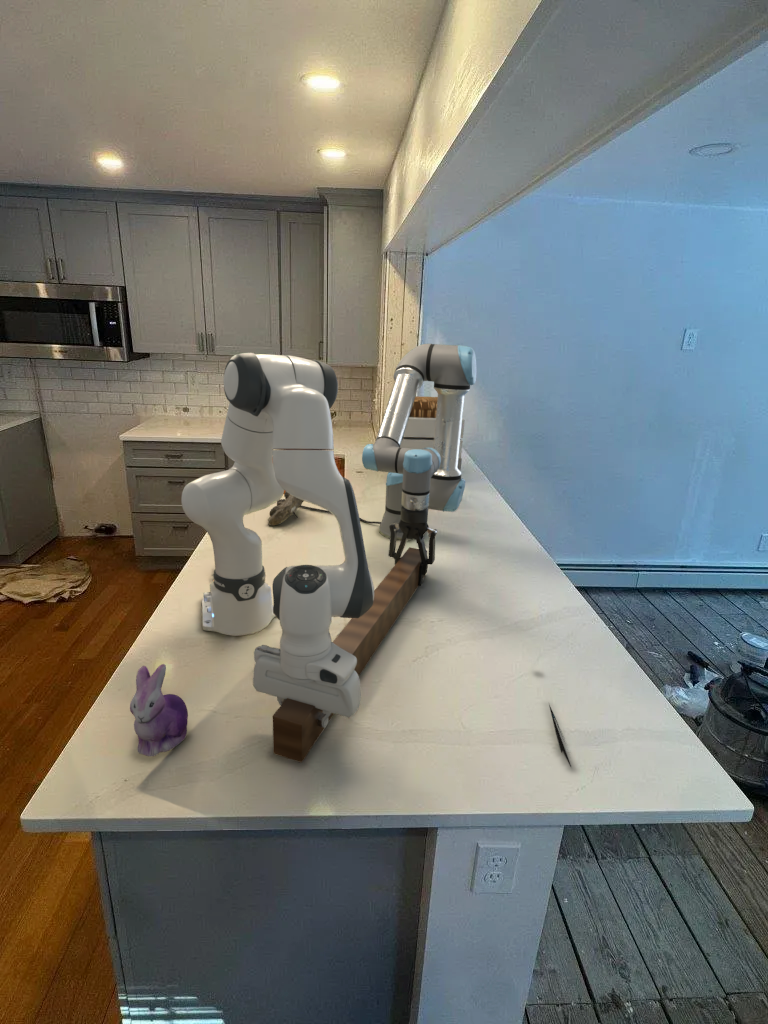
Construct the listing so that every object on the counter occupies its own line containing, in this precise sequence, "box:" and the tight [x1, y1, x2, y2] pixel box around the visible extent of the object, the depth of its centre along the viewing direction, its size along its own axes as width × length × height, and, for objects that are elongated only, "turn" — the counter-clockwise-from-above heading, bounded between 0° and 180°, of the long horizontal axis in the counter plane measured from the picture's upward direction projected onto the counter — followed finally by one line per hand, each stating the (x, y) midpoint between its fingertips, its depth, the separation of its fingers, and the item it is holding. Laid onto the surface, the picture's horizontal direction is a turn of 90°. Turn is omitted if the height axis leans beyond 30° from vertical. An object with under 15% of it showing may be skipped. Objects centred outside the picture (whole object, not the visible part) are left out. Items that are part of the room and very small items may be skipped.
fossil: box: [267, 491, 305, 527], centre depth 209 cm, size 22×10×15 cm
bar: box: [272, 546, 428, 763], centre depth 133 cm, size 80×6×8 cm, turn 160°
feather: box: [548, 702, 572, 767], centre depth 112 cm, size 2×28×2 cm
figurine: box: [129, 663, 189, 757], centre depth 99 cm, size 9×10×15 cm
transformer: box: [400, 395, 465, 473], centre depth 268 cm, size 34×33×41 cm
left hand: (305, 719), depth 104 cm, fingers closed on bar, 5 cm apart
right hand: (409, 581), depth 164 cm, fingers closed on bar, 6 cm apart
